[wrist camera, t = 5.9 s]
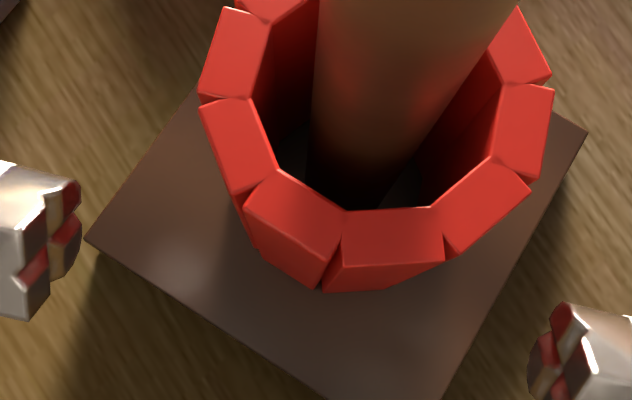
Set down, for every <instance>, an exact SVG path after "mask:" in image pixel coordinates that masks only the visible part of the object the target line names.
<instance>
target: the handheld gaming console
mask: <svg viewBox="0 0 632 400" xmlns="http://www.w3.org/2000/svg"><path fill="white" fill-rule="evenodd" d="M19 1H20V0H0V23H1V22H2V21H3V20H4V19H5V18H6V16H7V15H8V14H9V13H10V12H11V10H12V9H13V8H14V7H15V6H16V5H17V3H18V2H19Z"/></svg>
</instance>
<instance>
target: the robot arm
mask: <svg viewBox="0 0 632 400" xmlns="http://www.w3.org/2000/svg"><path fill="white" fill-rule="evenodd" d="M80 204H81V186H80V185H79V184H78V182H77V181H76V180H73V179H70V178H66V177H62V176H58V175H55V174H51V173H47V172H44V171H40V170H36V169H33V168H29V167H25V166H22V165H16V164H14V163H10V162H6V161H2V160H0V316H3V317H7V318H12V319H16V320H21V321H25V322H29V321H30V320H31V318H32V317H33V316H34V315H35V313H36V312H37V311H38V310H39V308H40V307H41V306H42V305H43V303H44V302H45V301H46V299H47V298H48V297H49V296H50V282H52V281H55V280H57V279H60V278H62V277H64V276H65V275H66V274H67V272H68V271H69V270H70V268H71V267H72V266H73V264H74V261H75V259H76V257H77V254H78V252H79V249H80V244H81V238H82V224H81V222H80V221H79V219H78V218H77V217H76V215H75V214H74V211H75V209H76V208H77V207H78V206H79V205H80ZM549 321H550V325H551V328H552V331H550V332H548V333H546V334H544V335H542V336H540V337H538V338H537V340H536V342H535V344H534V346H533V348H532V350H531V352H530V356H529V360H528V365H527V383H528V388H529V393H530V394H531V395H532V396H533V397H534V399H535V400H632V317H630V316H626V315H622V316H621V315H617V314H613V313H609V312H605V311H601V310H597V309H592V308H588V307H584V306H580V305H576V304H572V303H567V302H563V301H562V302H561V303H560V304H559V305H558V306H556V307H555V309H554V311H553V312H552V314H551V316H550V317H549Z"/></svg>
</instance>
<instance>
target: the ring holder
mask: <svg viewBox="0 0 632 400" xmlns="http://www.w3.org/2000/svg"><path fill="white" fill-rule="evenodd" d="M519 1H520V0H320V4H319V16H318V28H317V40H316V52H315V64H314V76H313V88H312V100H311V112H310V119H308V120H307V121H306V122H304V123H303V124H302V125H301V126H299V127H298V128H297V129H295V130H294V131H293V132H292V133H290V134H289V135H288V136H286V137H285V138H284V139H282V140H281V141H280V142H279V146H278V150H277V153H276V157H275V158H276V160H277V163H278V165H279V168H280V169H281V170H283V171H284V172H286V173H287V174H289V175H291V176H292V177H294V178H296V179H297V180H299V181H300V182H302V183H304V184H305V185H307V186H308V187H310V188H312V189H313V190H315V191H316V192H318V193H320V194H321V195H323V196H324V197H326V198H328V199H329V200H331V201H332V202H334V203H336V204H337V205H339V206H340V207H342V208H344V209H345V210H347V211H352V210H370V209H388V208H405V207H416V206H417V202H418V197H419V193H420V188H421V184H422V179H423V178H422V176H421V173H420V171H419V169H418V167H417V165H416V162H415V160H414V158H413V155H414V154H415V152H416V151H417V149H418V148H419V146H420V145H421V144H422V142H423V141H424V139H425V138H426V136H427V135H428V133H429V132H430V130H431V129H432V128H433V126H434V125H435V123H436V122H437V120H438V119H439V117H440V116H441V114H442V113H443V112H444V110H445V109H446V107H447V106H448V104H449V103H450V101H451V100H452V98H453V97H454V96H455V94H456V93H457V91H458V90H459V88H460V87H461V85H462V84H463V82H464V81H465V80H466V78H467V77H468V75H469V74H470V72H471V71H472V69H473V68H474V66H475V65H476V64H477V62H478V61H479V59H480V58H481V56H482V55H483V53H484V52H485V50H486V49H487V48H488V46H489V45H490V43H491V42H492V40H493V39H494V37H495V36H496V34H497V33H498V32H499V30H500V29H501V27H502V26H503V24H504V23H505V21H506V20H507V18H508V17H509V15H510V14H511V13H512V11H513V10H514V8H515V7H516V5H517V4H518V2H519ZM199 80H200V79H199ZM198 83H199V81H198V82H197V83H196V85H195V86H194V87H193V89H192V90H191V91H190V93H189V94H188V96H187V97H186V98H185V100H184V101H183V102H182V104H181V105H180V106H179V108H178V109H177V111H176V112H175V113H174V115H173V116H172V117H171V119H170V120H169V121H168V123H167V124H166V126H165V127H164V128H163V130H162V131H161V132H160V134H159V135H158V136H157V138H156V139H155V141H154V142H153V143H152V145H151V146H150V147H149V149H148V150H147V151H146V153H145V154H144V156H143V157H142V158H141V160H140V161H139V162H138V164H137V165H136V166H135V168H134V169H133V171H132V172H131V173H130V175H129V176H128V177H127V179H126V180H125V181H124V183H123V184H122V186H121V187H120V188H119V190H118V191H117V192H116V194H115V195H114V196H113V198H112V199H111V201H110V202H109V203H108V205H107V206H106V207H105V209H104V210H103V211H102V213H101V214H100V216H99V217H98V218H97V220H96V221H95V222H94V224H93V225H92V226H91V228H90V229H89V231H88V232H87V233H86V235H85V236H84V238H83V239H84V241H85V242H87V243H89V244H90V245H92V246H93V247H95V248H96V249H98V250H99V251H101V252H102V253H104V254H105V255H107V256H108V257H110V258H111V259H113V260H114V261H116V262H117V263H119V264H121V265H122V266H124V267H125V268H127V269H128V270H130V271H131V272H133V273H134V274H136V275H137V276H139V277H140V278H142V279H143V280H145V281H146V282H148V283H149V284H151V285H153V286H154V287H156V288H157V289H159V290H160V291H162V292H163V293H165V294H166V295H168V296H169V297H171V298H172V299H174V300H175V301H177V302H178V303H180V304H181V305H183V306H185V307H186V308H188V309H189V310H191V311H192V312H194V313H195V314H197V315H198V316H200V317H201V318H203V319H204V320H206V321H207V322H209V323H210V324H212V325H213V326H215V327H217V328H218V329H220V330H221V331H223V332H224V333H226V334H227V335H229V336H230V337H232V338H233V339H235V340H236V341H238V342H239V343H241V344H242V345H244V346H245V347H247V348H249V349H250V350H252V351H253V352H255V353H256V354H258V355H259V356H261V357H262V358H264V359H265V360H267V361H268V362H270V363H271V364H273V365H274V366H276V367H277V368H279V369H281V370H282V371H284V372H285V373H287V374H288V375H290V376H291V377H293V378H294V379H296V380H297V381H299V382H300V383H302V384H303V385H305V386H306V387H308V388H309V389H311V390H313V391H314V392H316V393H317V394H319V395H320V396H322V397H323V398H325V399H326V400H442V398H443V396H444V394H445V392H446V391H447V389H448V387H449V385H450V383H451V381H452V380H453V378H454V376H455V374H456V372H457V371H458V369H459V367H460V365H461V363H462V362H463V360H464V358H465V356H466V354H467V352H468V351H469V349H470V347H471V345H472V343H473V342H474V340H475V338H476V336H477V334H478V333H479V331H480V329H481V327H482V325H483V323H484V322H485V320H486V318H487V316H488V314H489V313H490V311H491V309H492V307H493V305H494V304H495V302H496V300H497V298H498V296H499V294H500V293H501V291H502V289H503V287H504V285H505V284H506V282H507V280H508V278H509V276H510V275H511V273H512V271H513V269H514V267H515V265H516V264H517V262H518V260H519V258H520V256H521V255H522V253H523V251H524V249H525V247H526V246H527V244H528V242H529V240H530V238H531V236H532V235H533V233H534V231H535V229H536V227H537V226H538V224H539V222H540V220H541V218H542V217H543V215H544V213H545V211H546V209H547V207H548V206H549V204H550V202H551V200H552V198H553V197H554V195H555V193H556V191H557V189H558V188H559V186H560V184H561V182H562V180H563V178H564V177H565V175H566V173H567V171H568V169H569V168H570V166H571V164H572V162H573V160H574V159H575V157H576V155H577V153H578V151H579V149H580V148H581V146H582V144H583V142H584V140H585V139H586V137H587V135H588V131H587V130H585V129H584V128H582V127H580V126H579V125H577V124H575V123H573V122H572V121H570V120H568V119H567V118H565V117H563V116H562V115H560V114H558V113H556V112H555V111H553V110H552V112H551V118H550V123H549V129H548V135H547V140H546V146H545V152H544V157H543V163H542V169H541V175H540V178H539V179H538V180H536V181H535V182H533V183H532V184H530V185H528V187H529V188H530V190H531V191H532V193H531V195H530V196H528V197H527V198H526V199H525V200H524V201H523V202H522V203H520V204H519V205H518V206H517V207H516V208H515V209H514V210H512V211H511V212H510V213H509V214H508V215H507V216H506V217H504V218H503V219H502V220H501V221H500V222H499V223H497V224H496V225H495V226H494V227H493V228H492V229H491V230H489V231H488V232H487V233H486V234H485V235H484V236H483V237H481V238H480V239H479V240H478V241H477V242H476V243H475V244H473V245H472V246H471V247H470V248H469V249H468V250H466V251H465V252H464V253H463V254H462V255H460V256H458V257H455V258H453V259H451V260H449V261H447V262H444V263H442V264H440V265H438V266H436V267H433V268H431V269H429V270H427V271H425V272H422V273H420V274H418V275H416V276H414V277H411V278H409V279H407V280H405V281H403V282H400V283H398V284H396V285H392V286H390V287H388V288H386V289H384V290H370V291H354V292H339V293H323V292H322V280H320V281H319V283H318V284H317V286H316V288H315V289H313V290H312V289H309V288H308V287H306V286H305V285H303V284H302V283H300V282H298V281H297V280H295V279H294V278H292V277H291V276H289V275H287V274H286V273H284V272H283V271H281V270H280V269H278V268H277V267H275V266H273V265H272V264H270V263H269V262H267V261H266V260H264V259H263V258H262V257H261V254H260V252H259V249H255V248H254V247H253V245H252V243H251V241H250V239H249V237H248V235H247V232H246V230H245V228H244V226H243V224H242V222H241V219H240V217H239V215H238V213H237V211H236V209H235V206H234V204H233V202H232V200H231V198H230V196H229V193H228V191H227V188H226V186H225V183H224V180H223V178H222V175H221V172H220V170H219V167H218V164H217V162H216V159H215V156H214V154H213V151H212V149H211V146H210V143H209V141H208V138H207V135H206V133H205V130H204V127H203V125H202V122H201V119H200V117H199V114H198V108H199V107H200V106H202V104H201V102H200V99H199V97H198V94H197V91H196V89H197V86H198Z"/></svg>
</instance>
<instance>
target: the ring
mask: <svg viewBox="0 0 632 400" xmlns="http://www.w3.org/2000/svg"><path fill="white" fill-rule="evenodd" d="M319 4H320V0H234V5H235V9H234V8H230V7H223V9H222V11H221V14H220V17H219V21H218V24H217V27H216V30H215V33H214V36H213V39H212V43H211V46H210V49H209V52H208V55H207V58H206V61H205V64H204V68H203V71H202V74H201V77H200V80H199V83H198V86H197V89H196V91H197V94H198V97H199V99H200V102H201V104H202V106H200V107H199V108H198V114H199V117H200V119H201V122H202V125H203V127H204V130H205V133H206V135H207V138H208V141H209V143H210V146H211V149H212V151H213V154H214V156H215V159H216V162H217V164H218V167H219V170H220V172H221V175H222V178H223V180H224V183H225V186H226V188H227V191H228V193H229V196H230V198H231V200H232V202H233V204H234V206H235V209H236V211H237V213H238V215H239V217H240V219H241V222H242V224H243V226H244V228H245V230H246V232H247V235H248V237H249V239H250V241H251V243H252V245H253V247H254V248H255V249H259V252H260V254H261V257H262V258H263V259H264V260H266V261H267V262H269V263H270V264H272V265H273V266H275V267H277V268H278V269H280V270H281V271H283V272H284V273H286V274H287V275H289V276H291V277H292V278H294V279H295V280H297V281H298V282H300V283H302V284H303V285H305V286H306V287H308V288H309V289H312V290H313V289H315V288H316V286H317V284H318V283H319V281H320V280H322V292H323V293H339V292H354V291H370V290H384V289H386V288H388V287H390V286H392V285H396V284H398V283H400V282H403V281H405V280H407V279H409V278H411V277H414V276H416V275H418V274H420V273H422V272H425V271H427V270H429V269H431V268H433V267H436V266H438V265H440V264H442V263H444V262H447V261H449V260H451V259H453V258H455V257H458V256H460V255H462V254H463V253H464V252H465V251H466V250H468V249H469V248H470V247H471V246H472V245H473V244H475V243H476V242H477V241H478V240H479V239H480V238H481V237H483V236H484V235H485V234H486V233H487V232H488V231H489V230H491V229H492V228H493V227H494V226H495V225H496V224H497V223H499V222H500V221H501V220H502V219H503V218H504V217H506V216H507V215H508V214H509V213H510V212H511V211H512V210H514V209H515V208H516V207H517V206H518V205H519V204H520V203H522V202H523V201H524V200H525V199H526V198H527V197H528V196H530V195H531V193H532V191H531V190H530V188H529V187H528V185H530V184H532V183H533V182H535V181H536V180H538V179H539V178H540V175H541V169H542V163H543V157H544V152H545V146H546V140H547V135H548V129H549V123H550V118H551V112H552V106H553V100H554V95H555V91H554V90H553V89H551V88H547V87H543V86H542V85H543V84H544V83H545V82H546V81H547V80H548V79H549V78H550V77H551V76H552V72H551V70H550V68H549V66H548V64H547V62H546V60H545V58H544V56H543V54H542V52H541V50H540V48H539V47H538V45H537V43H536V41H535V39H534V37H533V35H532V33H531V31H530V29H529V27H528V25H527V23H526V21H525V19H524V17H523V15H522V13H521V11H520V9H519V7H518V5H516V7H515V8H514V10H513V11H512V13H511V14H510V15H509V17H508V18H507V20H506V21H505V23H504V24H503V26H502V27H501V29H500V30H499V32H498V33H497V34H496V36H495V37H494V39H493V40H492V42H491V43H490V45H489V46H488V48H487V49H486V50H485V52H484V53H483V55H482V56H481V58H480V59H479V61H478V62H477V64H476V65H475V66H474V68H473V69H472V71H471V72H470V74H469V75H468V77H467V78H466V80H465V81H464V82H463V84H462V85H461V87H460V88H459V90H458V91H457V93H456V94H455V96H454V97H453V98H452V100H451V101H450V103H449V104H448V106H447V107H446V109H445V110H444V112H443V113H442V114H441V116H440V117H439V119H438V120H437V122H436V123H435V125H434V126H433V128H432V129H431V130H430V132H429V133H428V135H427V136H426V138H425V139H424V141H423V142H422V144H421V145H420V146H419V148H418V149H417V151H416V152H415V154H414V155H413V158H414V160H415V162H416V165H417V167H418V169H419V171H420V173H421V176H422V178H423V179H422V184H421V188H420V193H419V197H418V202H417V206H416V207H405V208H388V209H370V210H352V211H347V210H345V209H344V208H342V207H340V206H339V205H337V204H336V203H334V202H332V201H331V200H329V199H328V198H326V197H324V196H323V195H321V194H320V193H318V192H316V191H315V190H313V189H312V188H310V187H308V186H307V185H305V184H304V183H302V182H300V181H299V180H297V179H296V178H294V177H292V176H291V175H289V174H287V173H286V172H284V171H283V170H281V169H280V168H279V165H278V163H277V160H276V158H275V157H276V153H277V150H278V146H279V142H280V141H281V140H282V139H284V138H285V137H286V136H288V135H289V134H290V133H292V132H293V131H294V130H295V129H297V128H298V127H299V126H301V125H302V124H303V123H304V122H306V121H307V120H308V119H310V112H311V100H312V88H313V76H314V64H315V52H316V40H317V28H318V16H319Z"/></svg>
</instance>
